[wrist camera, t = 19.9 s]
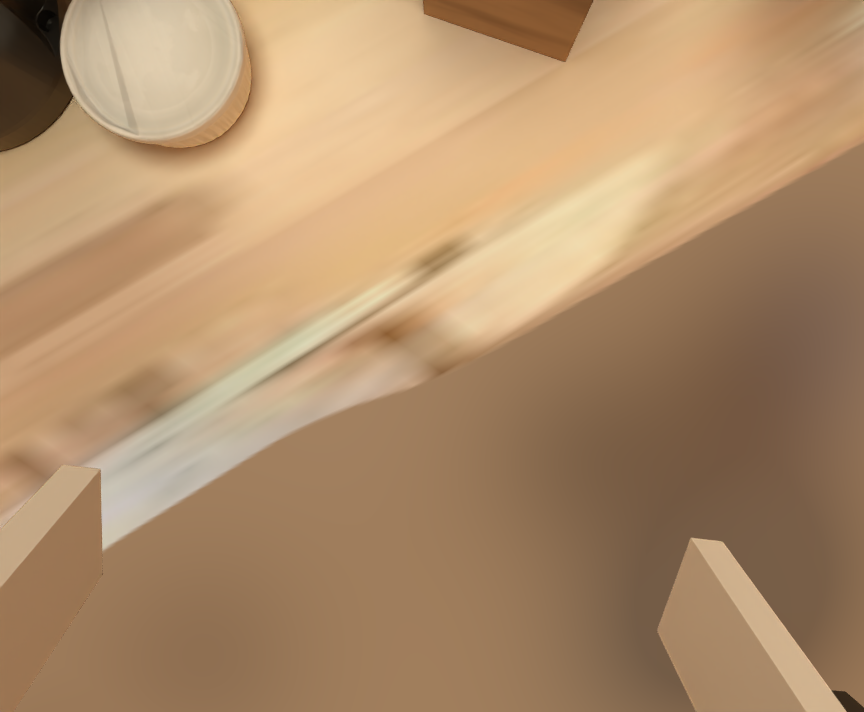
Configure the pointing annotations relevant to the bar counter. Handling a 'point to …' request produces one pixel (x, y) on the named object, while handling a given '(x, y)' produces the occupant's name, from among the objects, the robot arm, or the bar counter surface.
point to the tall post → (518, 21)
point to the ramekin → (157, 67)
